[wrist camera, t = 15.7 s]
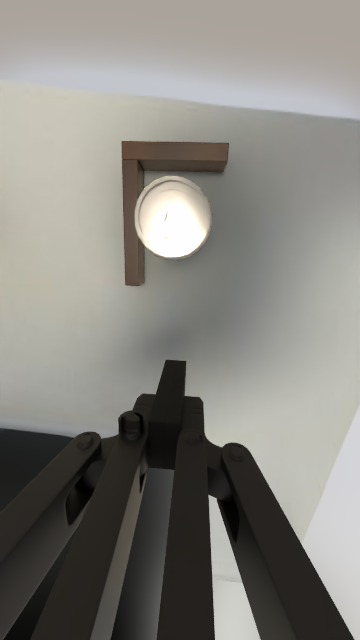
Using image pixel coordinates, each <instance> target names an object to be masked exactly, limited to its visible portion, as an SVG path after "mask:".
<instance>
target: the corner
mask: <svg viewBox="0 0 360 640" xmlns="http://www.w3.org/2000/svg"><path fill="white" fill-rule="evenodd" d="M228 148H229V143H195V142H138V141H122V159H123V160H122V174H123V212H124V249H125V285H129V286H139V285H141V284H143V283H144V245H143V243H142V242H141V240H140V239H139V237H138V234H137V230H136V227H135V208H136V204H137V200H138V198H139V196H140V195H141V193H142V191H143V190H144V170H162V171H206V172H223V171H224V169H225V166H226V164H227V161H228Z"/></svg>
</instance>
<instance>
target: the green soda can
mask: <svg viewBox="0 0 360 640" xmlns="http://www.w3.org/2000/svg"><path fill="white" fill-rule="evenodd" d="M135 227H136V230H137V234H138V237H139V239H140V240H141V242H142V243H143V245H144V246H145V248H146V249H147V250H149V251H150V252H151V253H153V254H154V255H155V256H157V257H160V258H163V259H165V260H181V259H184V258H187V257H190V256H191V255H193V254H194V253H196V252H197V251H199V250H200V248H201V247H202V246H203V245H204V243H205V242H206V241H207V239H208V236H209V233H210V230H211V227H212V211H211V207H210V203H209V200H208V199H207V197H206V195H205V194H204V192H203V190H202V189H200V188H199V187H198V186H197V185H196V184H195V183H193V182H192V181H191V180H188V179H186V178H183V177H180V176H164V177H161V178H159V179H156V180H154V181H153V182H151V183H150V184H149V185H148V186H146V187H145V188H144V190H143V191H142V193H141V195H140V196H139V198H138V200H137V204H136V208H135Z"/></svg>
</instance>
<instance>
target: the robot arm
mask: <svg viewBox="0 0 360 640" xmlns="http://www.w3.org/2000/svg"><path fill="white" fill-rule="evenodd" d="M185 377H186V361H177V360H166V361H165V365H164V368H163V371H162V375H161V378H160V382H159V385H158V389H157V392H156V395H155V394H142V395H140V396H139V397H138V398H137V400H136V403H135V405H134V408H133V410H132V411H127V412H125V413H123V414H121V415H120V417H119V418H118V422H119V434H118V435H116V436H113V437H109V438H103V439H101V437H100V435H99V434H97V433H96V432H84V433H82V434H79V435H78V436H76V437H75V438H74V439H73V440H72V441H71V442H70V443H69V444H68V445H67V446H66V447H65V448H64V449H63V450H62V451H61V452H60V453H59V454H58V455H57V456H56V457H55V458H54V459H53V460H52V461H51V462H50V463H49V464H48V465H47V466H46V467H45V468H44V469H43V470H42V471H41V472H40V473H39V474H38V475H37V476H36V477H35V478H34V479H33V480H32V481H31V482H30V483H29V484H28V485H27V486H26V487H25V488H24V489H23V490H22V491H21V492H20V493H19V494H18V495H17V496H16V497H15V498H14V499H13V500H12V501H11V502H10V503H9V504H8V505H7V506H6V507H5V508H4V509H3V510H2V511H1V512H0V640H3V639H4V637H5V636H6V634H7V633H8V631H9V630H10V628H11V627H12V625H13V624H14V622H15V621H16V619H17V618H18V616H19V615H20V613H21V612H22V610H23V609H24V607H25V606H26V604H27V603H28V601H29V600H30V598H31V597H32V595H33V593H34V592H35V591H36V589H37V587H38V586H39V584H40V583H41V581H42V580H43V578H44V577H45V575H46V574H47V572H48V571H49V569H50V568H51V566H52V565H53V563H54V562H55V560H56V559H57V557H58V556H59V554H60V553H61V551H62V550H63V548H64V547H65V545H66V544H67V542H68V541H69V539H70V538H71V536H72V534H73V533H74V531H75V530H76V528H77V527H78V525H79V524H80V525H79V527H78V530H77V532H76V534H75V537H74V539H73V541H72V544H71V546H70V548H69V551H68V553H67V555H66V558H65V560H64V562H63V565H62V567H61V569H60V572H59V574H58V576H57V579H56V581H55V583H54V586H53V588H52V590H51V593H50V595H49V597H48V600H47V602H46V604H45V607H44V609H43V611H42V614H41V616H40V618H39V621H38V623H37V625H36V628H35V630H34V633H33V635H32V637H31V639H30V640H110V639H111V634H112V629H113V625H114V620H115V616H116V611H117V607H118V602H119V598H120V593H121V588H122V584H123V580H124V575H125V571H126V566H127V562H128V557H129V553H130V548H131V544H132V539H133V535H134V530H135V525H136V521H137V517H138V512H139V508H140V503H141V499H142V494H143V490H144V485H145V481H146V468H147V464H148V467H150V468H162V469H172V470H175V471H174V480H173V490H172V499H171V509H170V518H169V528H168V538H167V547H166V556H165V566H164V575H163V585H162V594H161V604H160V613H159V623H158V633H157V640H215V633H214V609H213V588H212V565H211V542H210V520H209V498H208V495H210V496H213V497H215V498H217V502H218V506H219V509H220V512H221V515H222V518H223V521H224V525H225V528H226V531H227V534H228V537H229V540H230V544H231V547H232V550H233V553H234V556H235V559H236V563H237V566H238V569H239V572H240V575H241V579H242V582H243V585H244V588H245V591H246V594H247V598H248V600H249V604H250V607H251V610H252V613H253V617H254V620H255V623H256V626H257V629H258V632H259V635H260V639H261V640H354V639H353V636H352V635H351V633H350V631H349V629H348V628H347V626H346V624H345V622H344V620H343V619H342V617H341V615H340V613H339V611H338V609H337V608H336V606H335V604H334V602H333V601H332V599H331V597H330V595H329V593H328V591H327V590H326V588H325V586H324V584H323V583H322V581H321V579H320V577H319V575H318V574H317V572H316V570H315V568H314V566H313V565H312V563H311V561H310V559H309V557H308V556H307V554H306V552H305V550H304V548H303V547H302V545H301V543H300V541H299V539H298V537H297V536H296V534H295V532H294V530H293V528H292V527H291V525H290V523H289V521H288V519H287V518H286V516H285V514H284V512H283V510H282V509H281V507H280V505H279V503H278V501H277V500H276V498H275V496H274V494H273V492H272V491H271V489H270V487H269V485H268V483H267V482H266V480H265V478H264V476H263V474H262V473H261V471H260V469H259V467H258V465H257V464H256V462H255V460H254V458H253V456H252V455H251V453H250V451H249V450H248V449H247V448H246V447H244V446H243V445H241V444H238V443H228V444H226V445H224V446H223V447H219V446H216V445H214V444H212V443H211V442H210V441H209V440H208V439H207V438H206V436H205V433H204V410H203V402H202V400H201V399H200V397H191V396H185Z"/></svg>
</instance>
